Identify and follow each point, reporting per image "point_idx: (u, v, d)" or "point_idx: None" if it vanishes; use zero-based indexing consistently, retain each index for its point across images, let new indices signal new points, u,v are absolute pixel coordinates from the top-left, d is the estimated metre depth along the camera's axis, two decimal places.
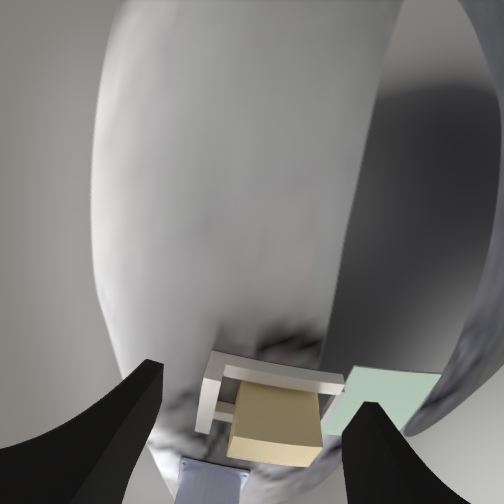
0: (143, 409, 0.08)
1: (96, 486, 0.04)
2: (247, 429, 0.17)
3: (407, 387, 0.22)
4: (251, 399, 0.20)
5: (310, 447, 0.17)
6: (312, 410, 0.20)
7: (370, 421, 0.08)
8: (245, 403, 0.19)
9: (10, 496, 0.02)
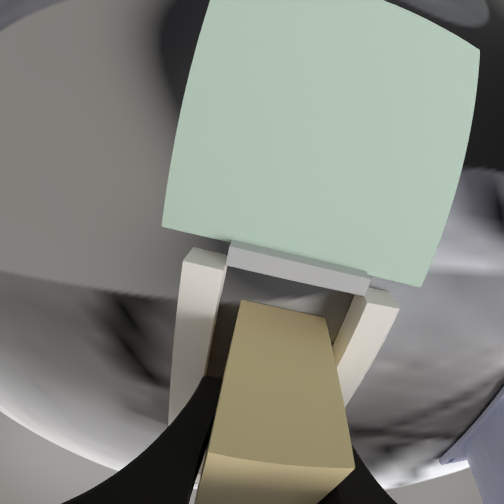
0: (210, 428, 0.08)
1: None
2: (195, 498, 0.07)
3: (258, 44, 0.07)
4: None
5: (212, 471, 0.05)
6: (227, 360, 0.08)
7: None
8: (205, 453, 0.10)
9: None
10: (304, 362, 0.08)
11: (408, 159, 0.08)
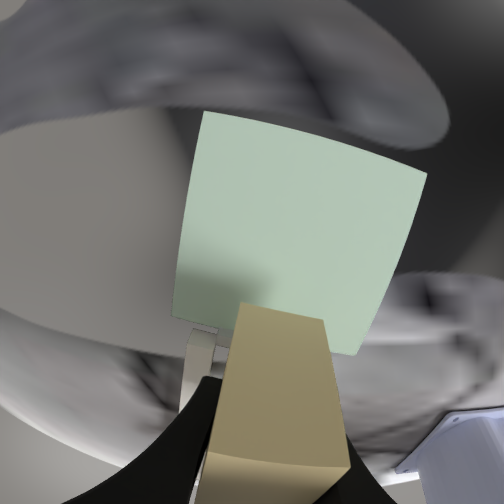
0: (210, 428, 0.08)
1: None
2: None
3: (234, 195, 0.11)
4: None
5: (212, 470, 0.05)
6: None
7: None
8: None
9: None
10: (302, 364, 0.08)
11: (345, 276, 0.12)
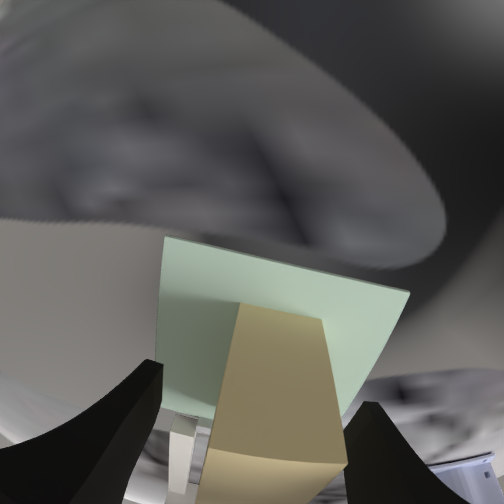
0: (143, 409, 0.08)
1: (96, 486, 0.04)
2: None
3: (202, 320, 0.11)
4: None
5: (212, 466, 0.05)
6: (227, 361, 0.08)
7: (370, 421, 0.08)
8: (206, 451, 0.10)
9: (10, 496, 0.02)
10: (301, 363, 0.08)
11: None
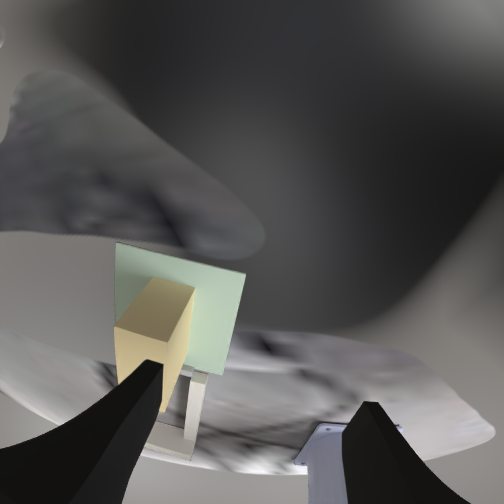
0: (143, 409, 0.08)
1: (96, 486, 0.04)
2: None
3: (136, 286, 0.20)
4: None
5: (117, 339, 0.14)
6: None
7: (370, 421, 0.08)
8: None
9: (10, 496, 0.02)
10: (169, 304, 0.17)
11: (202, 330, 0.21)
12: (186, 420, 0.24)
